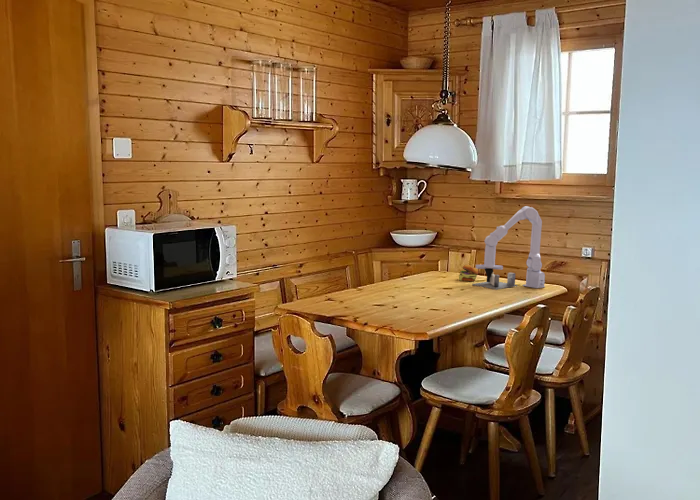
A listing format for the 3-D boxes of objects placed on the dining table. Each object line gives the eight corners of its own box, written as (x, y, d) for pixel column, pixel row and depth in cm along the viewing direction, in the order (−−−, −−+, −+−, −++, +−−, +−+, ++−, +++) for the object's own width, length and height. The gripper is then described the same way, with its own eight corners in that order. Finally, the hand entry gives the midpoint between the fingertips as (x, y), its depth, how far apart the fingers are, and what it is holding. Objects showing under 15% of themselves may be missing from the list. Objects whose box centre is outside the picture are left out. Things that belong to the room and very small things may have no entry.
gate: (497, 285, 377) (498, 275, 376) (493, 285, 376) (494, 274, 376) (492, 282, 386) (493, 271, 386) (489, 282, 386) (489, 271, 386)
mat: (517, 286, 383) (517, 285, 383) (496, 289, 370) (496, 288, 370) (493, 281, 395) (493, 280, 395) (472, 285, 382) (472, 283, 382)
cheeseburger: (453, 279, 399) (458, 262, 398) (468, 282, 403) (472, 265, 403) (463, 281, 389) (468, 264, 389) (479, 285, 394) (483, 268, 394)
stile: (517, 285, 382) (518, 273, 381) (510, 286, 378) (511, 274, 377) (510, 283, 386) (510, 272, 385) (503, 285, 382) (504, 273, 381)
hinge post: (499, 287, 375) (500, 275, 374) (496, 287, 373) (497, 275, 372) (495, 286, 377) (496, 274, 376) (493, 286, 375) (493, 275, 374)
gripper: (501, 256, 386) (499, 281, 387) (475, 256, 385) (473, 280, 387) (504, 258, 379) (502, 283, 380) (477, 257, 378) (476, 282, 380)
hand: (488, 282), depth 383 cm, fingers closed
